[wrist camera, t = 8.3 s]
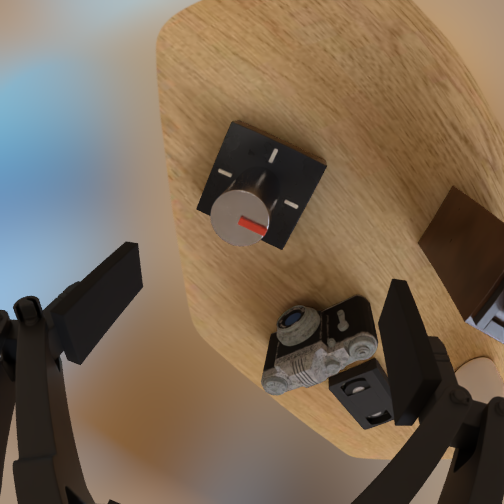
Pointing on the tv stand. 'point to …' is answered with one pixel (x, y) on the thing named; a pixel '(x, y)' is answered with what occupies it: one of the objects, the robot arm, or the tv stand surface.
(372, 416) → the vhs tape
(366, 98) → the tv stand surface
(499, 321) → the pillar
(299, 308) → the camera
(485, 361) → the mug
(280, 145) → the dial panel
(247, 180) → the dial
